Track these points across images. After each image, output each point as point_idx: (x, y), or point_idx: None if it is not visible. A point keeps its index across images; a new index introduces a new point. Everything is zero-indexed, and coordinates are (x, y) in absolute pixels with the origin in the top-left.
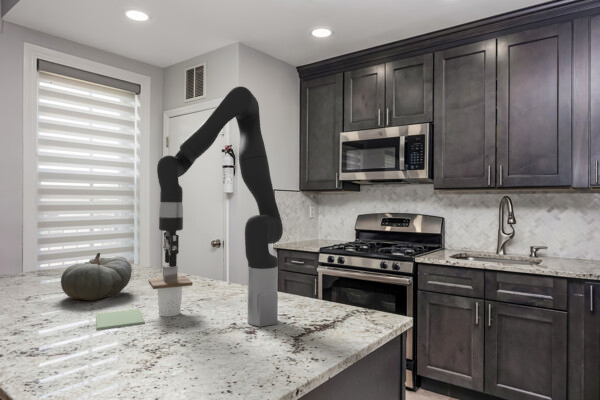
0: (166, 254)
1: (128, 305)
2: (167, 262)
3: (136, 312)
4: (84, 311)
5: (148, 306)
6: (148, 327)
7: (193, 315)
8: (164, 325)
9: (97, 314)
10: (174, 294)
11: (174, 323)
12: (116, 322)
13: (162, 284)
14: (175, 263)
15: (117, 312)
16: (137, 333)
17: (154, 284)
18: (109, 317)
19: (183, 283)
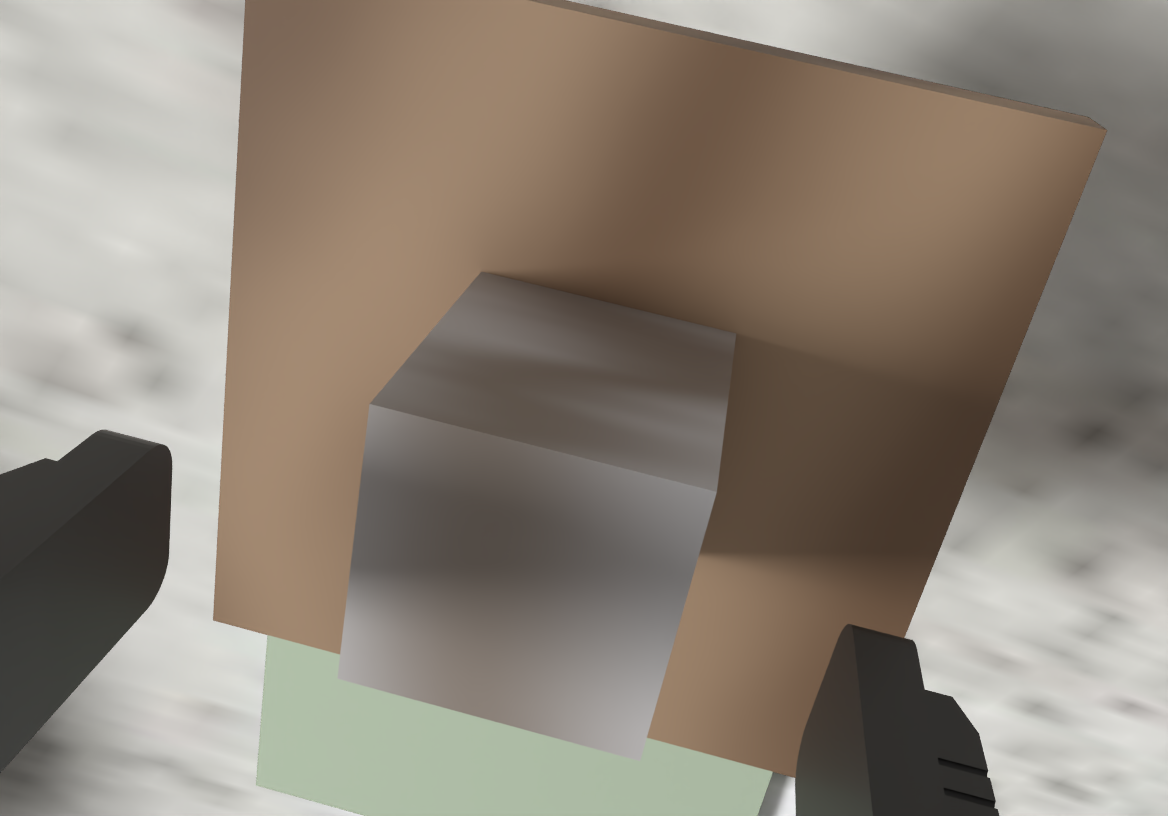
0: (21, 720)
1: (19, 450)
2: (162, 540)
3: None
4: (71, 789)
5: (167, 300)
6: (998, 605)
7: (957, 5)
8: (1069, 467)
9: (292, 787)
10: None
11: (1092, 356)
12: (673, 772)
13: (827, 650)
14: (980, 740)
15: (319, 653)
16: (1099, 737)
17: (731, 732)
18: (459, 755)
19: (1028, 326)
